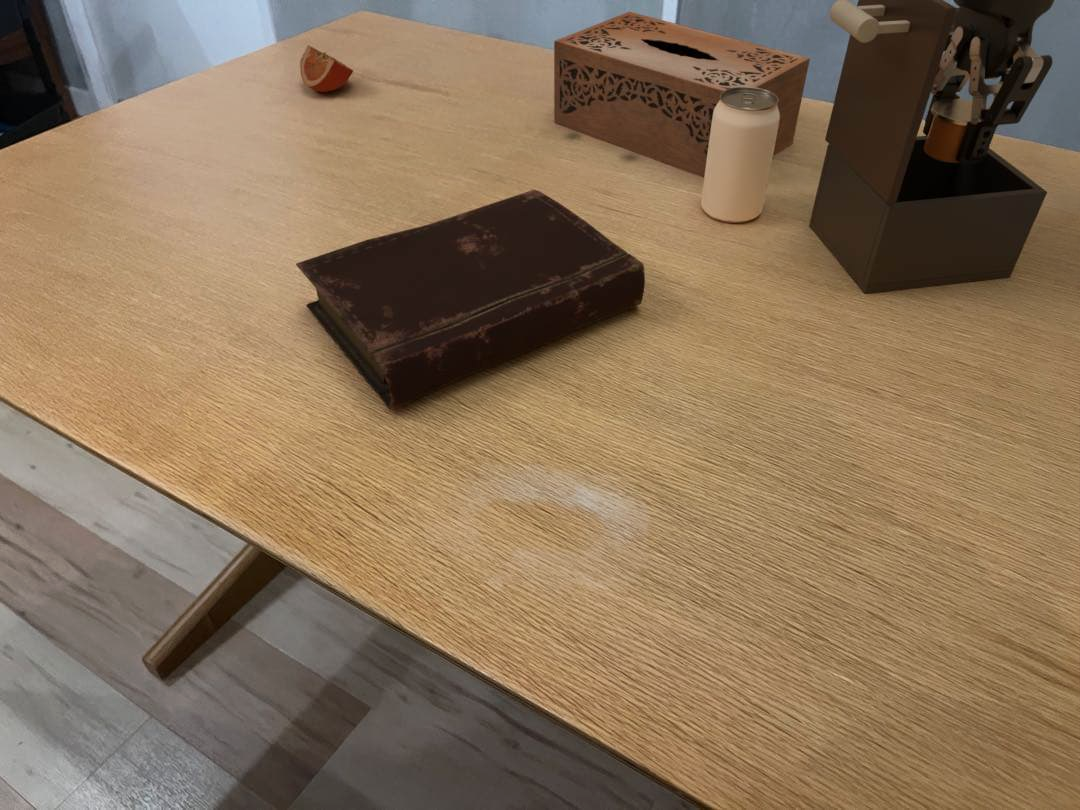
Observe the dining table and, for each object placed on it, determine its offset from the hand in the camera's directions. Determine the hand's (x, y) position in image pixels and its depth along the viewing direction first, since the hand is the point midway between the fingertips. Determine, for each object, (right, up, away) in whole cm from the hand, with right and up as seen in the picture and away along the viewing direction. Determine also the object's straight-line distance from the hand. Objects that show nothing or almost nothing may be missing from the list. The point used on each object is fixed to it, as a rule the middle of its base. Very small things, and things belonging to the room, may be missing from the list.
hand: (950, 147), depth 75 cm
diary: (-44, -15, 0) cm, 46 cm away
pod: (0, 0, 0) cm, 0 cm away
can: (-17, -3, +12) cm, 21 cm away
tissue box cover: (-21, +10, +27) cm, 36 cm away
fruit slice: (-67, +20, +39) cm, 80 cm away
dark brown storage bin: (-2, -8, +6) cm, 10 cm away
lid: (-9, +3, -6) cm, 11 cm away
